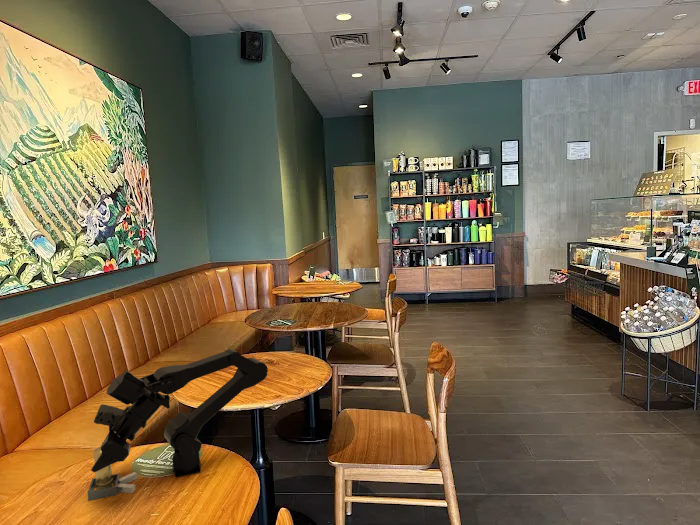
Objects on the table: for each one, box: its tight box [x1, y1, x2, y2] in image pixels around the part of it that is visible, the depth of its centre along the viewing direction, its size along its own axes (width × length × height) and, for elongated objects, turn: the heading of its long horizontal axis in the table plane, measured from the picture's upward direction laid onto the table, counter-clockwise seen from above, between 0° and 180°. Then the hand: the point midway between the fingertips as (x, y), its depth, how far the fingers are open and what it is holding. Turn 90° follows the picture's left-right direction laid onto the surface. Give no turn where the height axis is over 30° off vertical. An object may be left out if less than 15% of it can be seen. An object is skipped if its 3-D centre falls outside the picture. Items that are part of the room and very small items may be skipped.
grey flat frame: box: [87, 471, 138, 502], centre depth 116 cm, size 11×8×2 cm
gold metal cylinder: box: [92, 446, 114, 490], centre depth 115 cm, size 4×4×11 cm
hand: (95, 461), depth 114 cm, fingers open, 9 cm apart
